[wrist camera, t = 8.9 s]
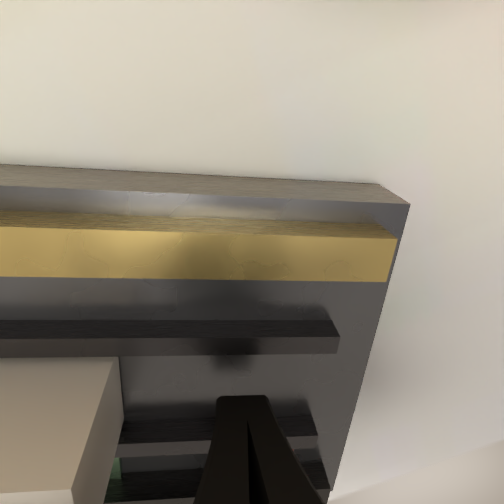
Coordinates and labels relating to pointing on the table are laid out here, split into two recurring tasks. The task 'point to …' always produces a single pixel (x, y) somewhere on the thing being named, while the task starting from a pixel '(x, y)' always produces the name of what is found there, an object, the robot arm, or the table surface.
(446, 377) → the table surface
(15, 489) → the block
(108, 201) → the breaker panel
